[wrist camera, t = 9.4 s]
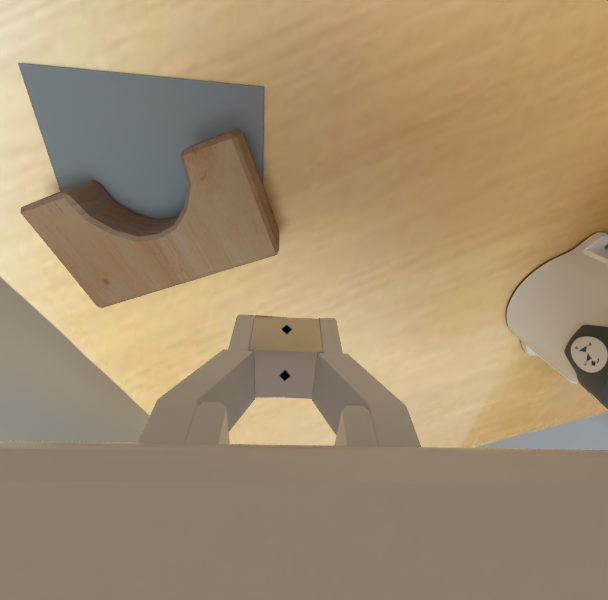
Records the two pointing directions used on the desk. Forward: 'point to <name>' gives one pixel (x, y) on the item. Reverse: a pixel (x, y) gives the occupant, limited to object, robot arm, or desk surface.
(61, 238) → the decorative block
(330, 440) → the desk surface
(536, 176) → the desk surface
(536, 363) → the desk surface
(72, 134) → the felt mat
